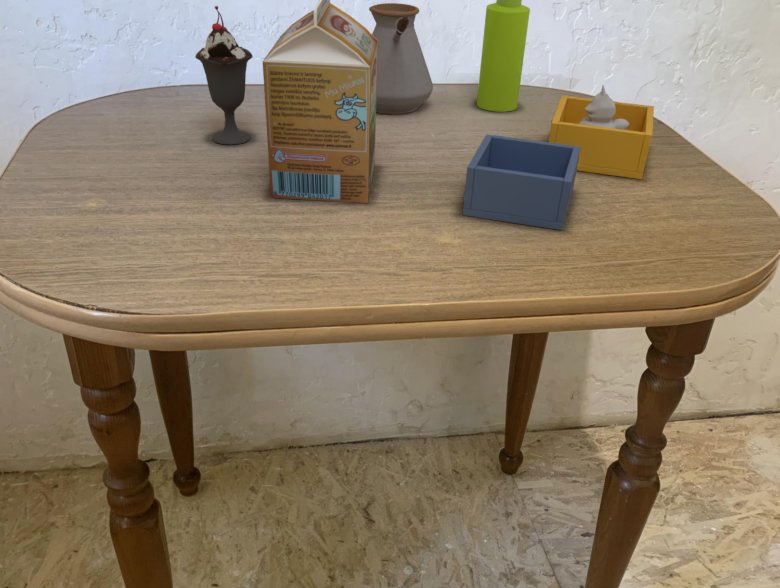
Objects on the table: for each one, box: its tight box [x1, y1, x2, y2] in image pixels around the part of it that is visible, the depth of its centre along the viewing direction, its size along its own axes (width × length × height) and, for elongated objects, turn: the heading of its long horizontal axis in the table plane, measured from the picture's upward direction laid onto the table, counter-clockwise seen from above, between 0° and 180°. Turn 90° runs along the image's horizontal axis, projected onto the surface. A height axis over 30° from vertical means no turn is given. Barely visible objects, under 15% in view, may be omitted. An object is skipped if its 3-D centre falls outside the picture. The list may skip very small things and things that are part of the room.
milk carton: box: [262, 0, 378, 204], centre depth 82 cm, size 11×11×19 cm
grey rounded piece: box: [579, 84, 629, 130], centre depth 94 cm, size 5×7×8 cm
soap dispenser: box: [476, 0, 531, 113], centre depth 107 cm, size 6×7×20 cm
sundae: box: [195, 5, 253, 146], centre depth 93 cm, size 7×7×15 cm
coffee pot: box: [368, 2, 434, 115], centre depth 102 cm, size 21×12×15 cm, turn 4°
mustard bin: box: [547, 94, 655, 180], centre depth 96 cm, size 12×12×5 cm
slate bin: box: [462, 134, 581, 231], centre depth 83 cm, size 11×11×5 cm
